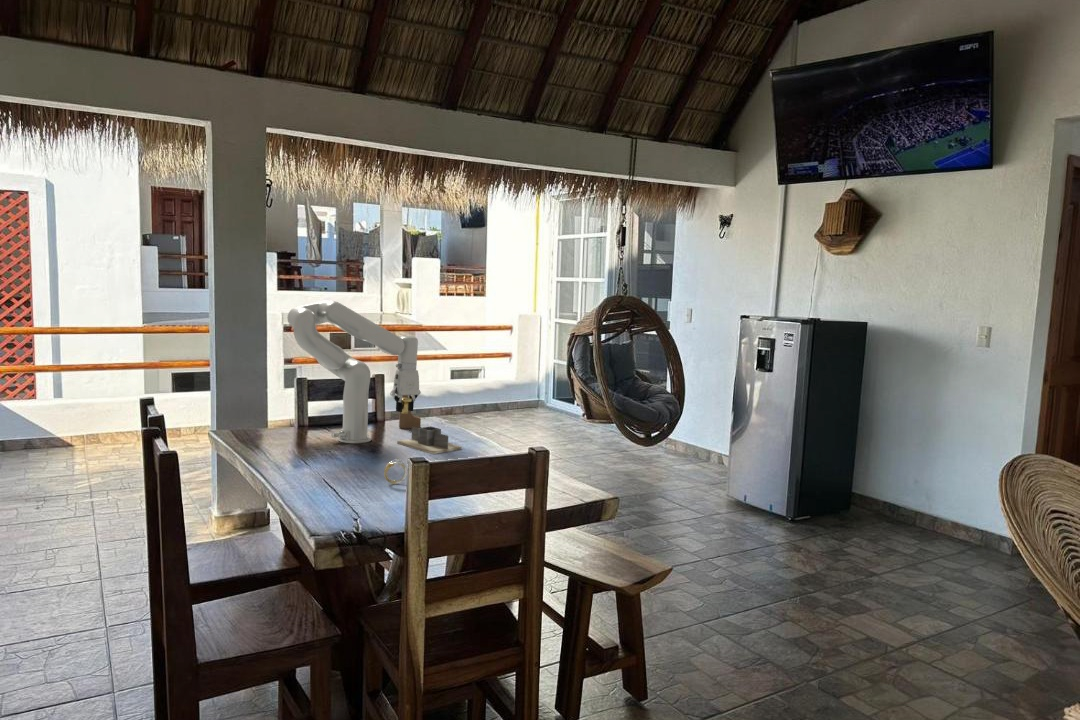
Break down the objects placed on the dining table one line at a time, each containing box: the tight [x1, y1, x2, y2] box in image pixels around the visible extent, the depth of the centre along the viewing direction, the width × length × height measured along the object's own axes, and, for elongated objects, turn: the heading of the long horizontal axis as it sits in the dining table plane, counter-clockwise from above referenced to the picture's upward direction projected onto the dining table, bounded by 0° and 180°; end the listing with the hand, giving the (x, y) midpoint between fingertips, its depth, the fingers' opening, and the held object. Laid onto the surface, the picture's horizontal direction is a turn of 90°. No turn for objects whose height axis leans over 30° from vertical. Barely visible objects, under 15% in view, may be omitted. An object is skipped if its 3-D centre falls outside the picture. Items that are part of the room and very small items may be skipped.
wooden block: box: [398, 395, 422, 430], centre depth 314 cm, size 9×4×18 cm, turn 103°
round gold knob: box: [401, 398, 412, 414], centre depth 295 cm, size 5×5×6 cm
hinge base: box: [396, 426, 463, 455], centre depth 281 cm, size 14×22×7 cm, turn 48°
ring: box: [383, 458, 408, 485], centre depth 227 cm, size 7×3×8 cm, turn 105°
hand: (404, 410), depth 295 cm, fingers closed on round gold knob, 4 cm apart
